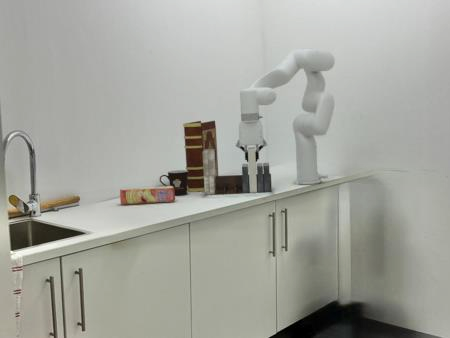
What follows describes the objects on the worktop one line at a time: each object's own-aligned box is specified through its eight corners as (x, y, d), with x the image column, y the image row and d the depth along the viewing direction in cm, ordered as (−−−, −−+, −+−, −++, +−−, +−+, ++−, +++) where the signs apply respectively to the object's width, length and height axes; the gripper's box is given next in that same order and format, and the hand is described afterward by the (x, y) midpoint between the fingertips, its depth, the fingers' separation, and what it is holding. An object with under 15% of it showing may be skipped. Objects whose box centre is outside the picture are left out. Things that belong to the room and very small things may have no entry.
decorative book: (202, 191, 272) (198, 123, 268) (185, 191, 274) (181, 123, 270) (219, 183, 294) (215, 120, 290) (203, 183, 296) (199, 120, 292)
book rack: (271, 189, 272) (269, 146, 270) (272, 194, 258) (270, 149, 256) (207, 192, 270) (204, 148, 268) (204, 197, 256) (202, 152, 254)
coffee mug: (193, 193, 269) (192, 170, 268) (181, 196, 261) (180, 173, 260) (171, 192, 274) (170, 169, 272) (159, 195, 266) (157, 172, 265)
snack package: (175, 199, 254) (174, 183, 253) (174, 202, 247) (173, 185, 246) (121, 203, 251) (120, 186, 250) (119, 206, 244) (118, 189, 243)
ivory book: (257, 188, 270) (255, 147, 267) (257, 192, 259) (255, 149, 256) (250, 188, 269) (248, 147, 267) (249, 192, 258) (247, 149, 256)
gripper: (269, 116, 264) (271, 159, 267) (230, 118, 263) (233, 161, 266) (269, 117, 257) (271, 161, 259) (230, 119, 256) (232, 163, 258)
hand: (252, 161), depth 262 cm, fingers closed on ivory book, 3 cm apart
